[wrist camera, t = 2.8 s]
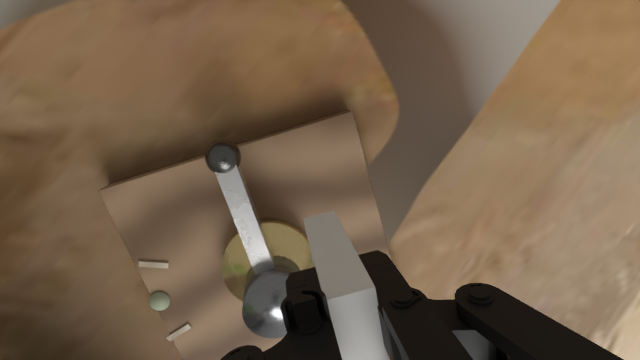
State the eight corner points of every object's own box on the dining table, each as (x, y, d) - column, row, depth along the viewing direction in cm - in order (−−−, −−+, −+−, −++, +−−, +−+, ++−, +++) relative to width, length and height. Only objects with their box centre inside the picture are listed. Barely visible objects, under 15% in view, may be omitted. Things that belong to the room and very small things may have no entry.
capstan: (322, 282, 33) (333, 319, 27) (241, 310, 32) (236, 353, 27) (269, 121, 28) (269, 127, 23) (174, 150, 28) (152, 164, 23)
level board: (403, 321, 38) (411, 335, 36) (206, 392, 37) (203, 410, 35) (347, 110, 32) (353, 111, 29) (104, 185, 30) (92, 192, 28)
